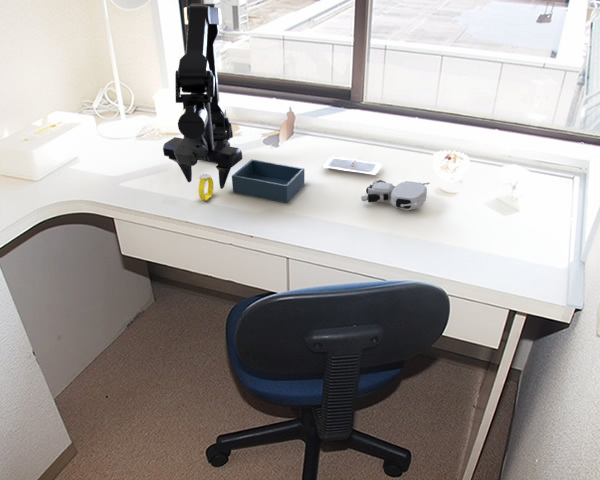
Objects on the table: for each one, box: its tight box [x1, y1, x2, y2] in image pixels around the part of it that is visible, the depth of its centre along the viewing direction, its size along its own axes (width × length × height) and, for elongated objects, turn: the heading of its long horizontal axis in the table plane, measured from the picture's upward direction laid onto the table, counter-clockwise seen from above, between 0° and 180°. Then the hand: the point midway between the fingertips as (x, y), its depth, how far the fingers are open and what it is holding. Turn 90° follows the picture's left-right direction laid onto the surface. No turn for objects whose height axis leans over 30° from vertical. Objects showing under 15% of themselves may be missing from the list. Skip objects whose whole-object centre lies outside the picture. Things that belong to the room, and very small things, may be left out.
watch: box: [197, 173, 215, 202], centre depth 137 cm, size 6×3×6 cm, turn 164°
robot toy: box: [360, 179, 431, 212], centre depth 136 cm, size 12×4×15 cm
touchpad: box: [322, 156, 383, 176], centre depth 153 cm, size 8×15×2 cm, turn 70°
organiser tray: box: [231, 159, 305, 204], centre depth 142 cm, size 15×11×5 cm
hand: (205, 185), depth 137 cm, fingers open, 9 cm apart
